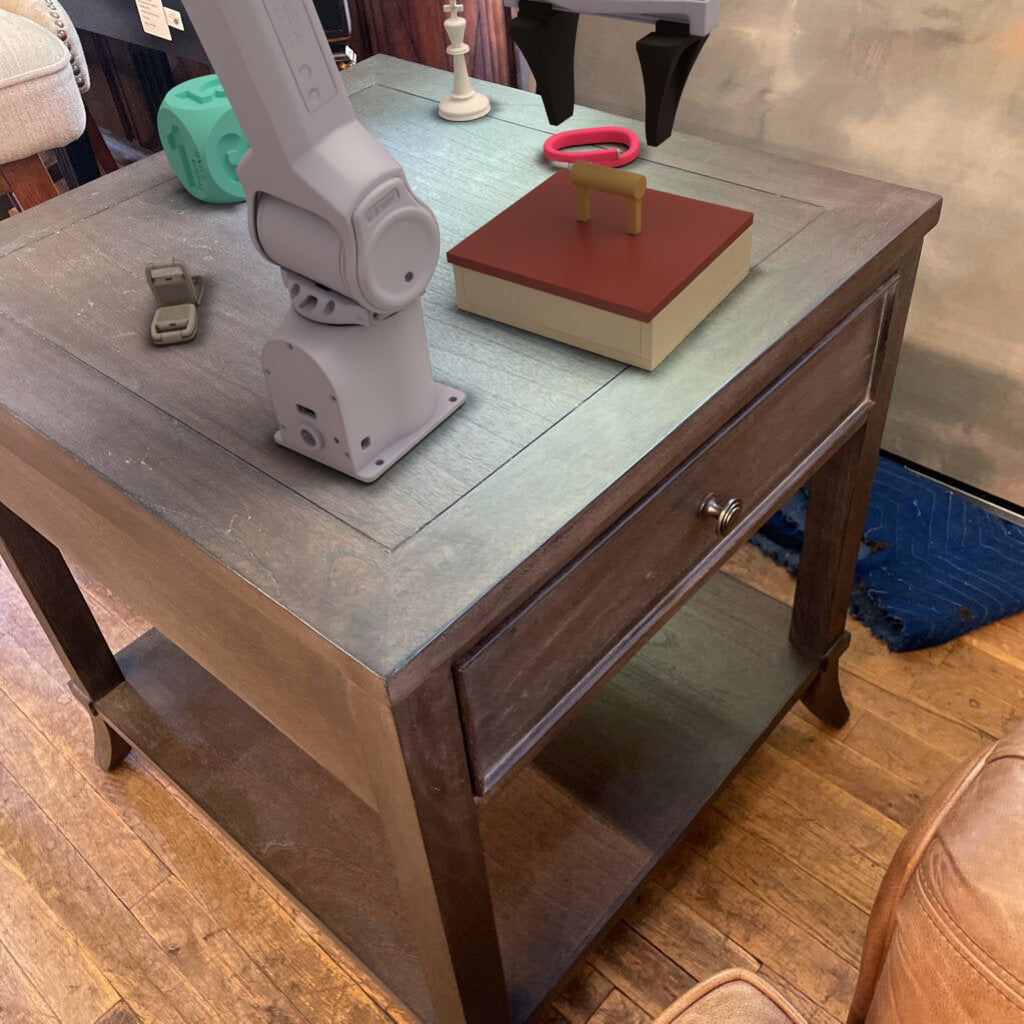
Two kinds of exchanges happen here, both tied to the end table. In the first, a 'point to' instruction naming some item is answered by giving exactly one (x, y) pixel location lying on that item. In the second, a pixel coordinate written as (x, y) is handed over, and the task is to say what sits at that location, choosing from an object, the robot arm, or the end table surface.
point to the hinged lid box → (601, 327)
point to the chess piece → (460, 74)
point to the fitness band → (593, 136)
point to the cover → (603, 240)
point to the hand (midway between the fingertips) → (608, 130)
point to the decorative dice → (203, 139)
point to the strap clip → (174, 302)
